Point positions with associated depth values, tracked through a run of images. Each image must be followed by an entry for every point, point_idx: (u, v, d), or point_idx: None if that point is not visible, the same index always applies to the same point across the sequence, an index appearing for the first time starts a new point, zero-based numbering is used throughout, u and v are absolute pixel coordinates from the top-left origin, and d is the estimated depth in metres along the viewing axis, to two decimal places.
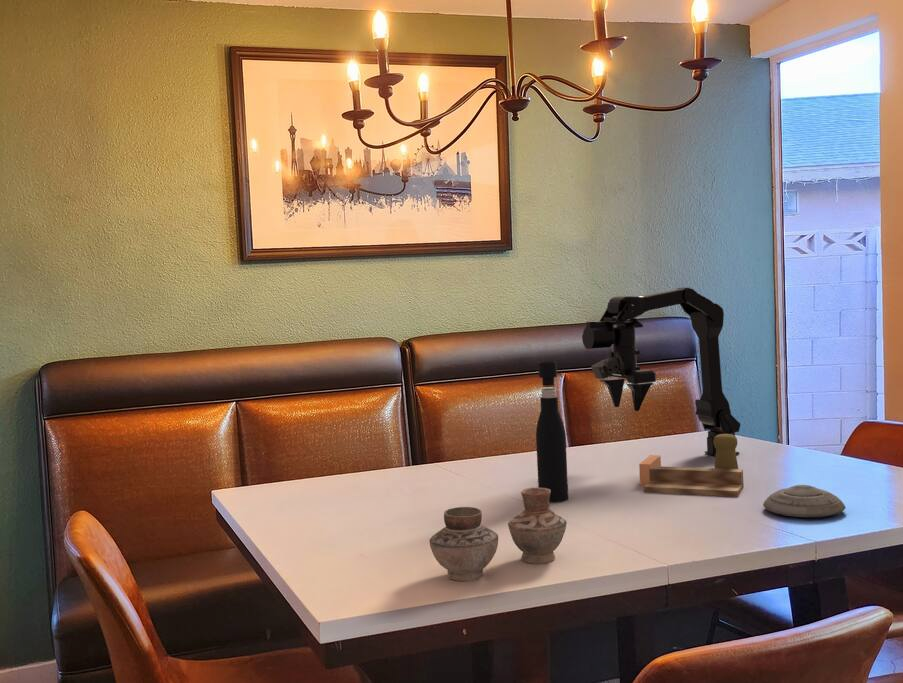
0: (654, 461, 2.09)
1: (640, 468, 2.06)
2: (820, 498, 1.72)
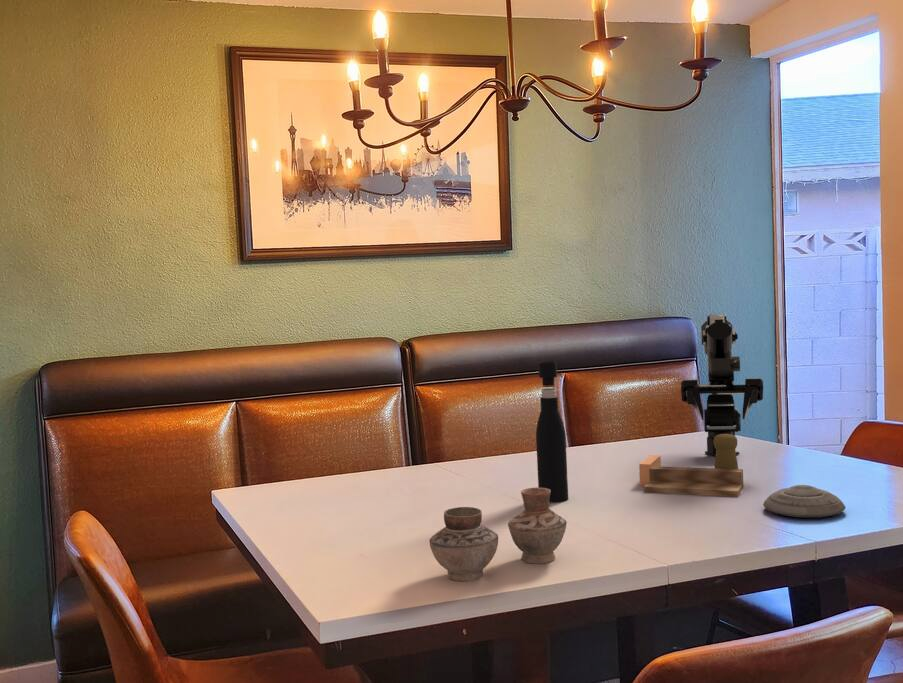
0: (654, 461, 2.09)
1: (640, 468, 2.06)
2: (820, 498, 1.72)
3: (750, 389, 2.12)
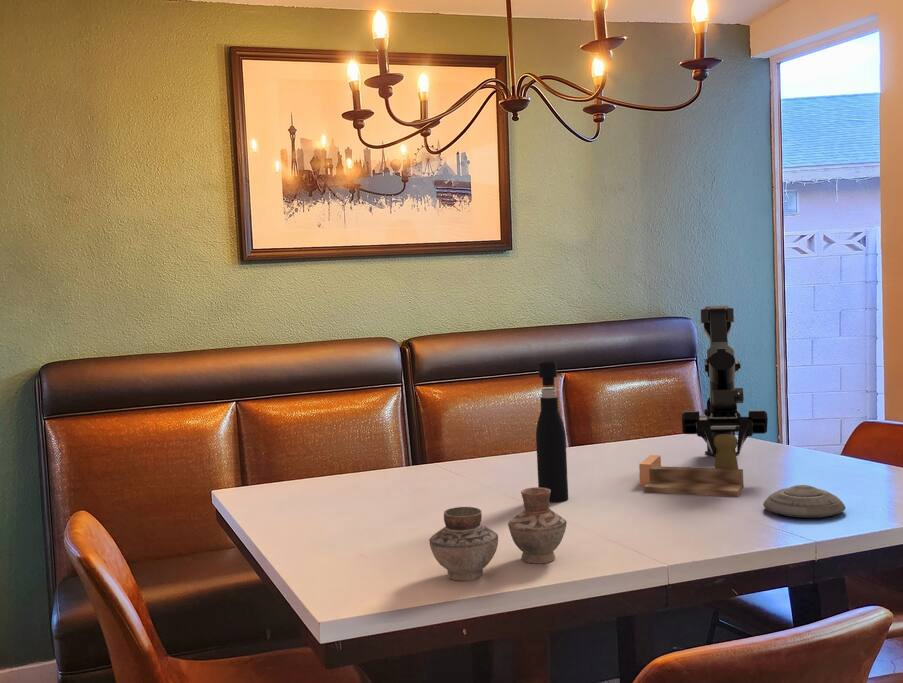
0: (654, 461, 2.09)
1: (640, 468, 2.06)
2: (820, 498, 1.72)
3: (745, 422, 2.05)
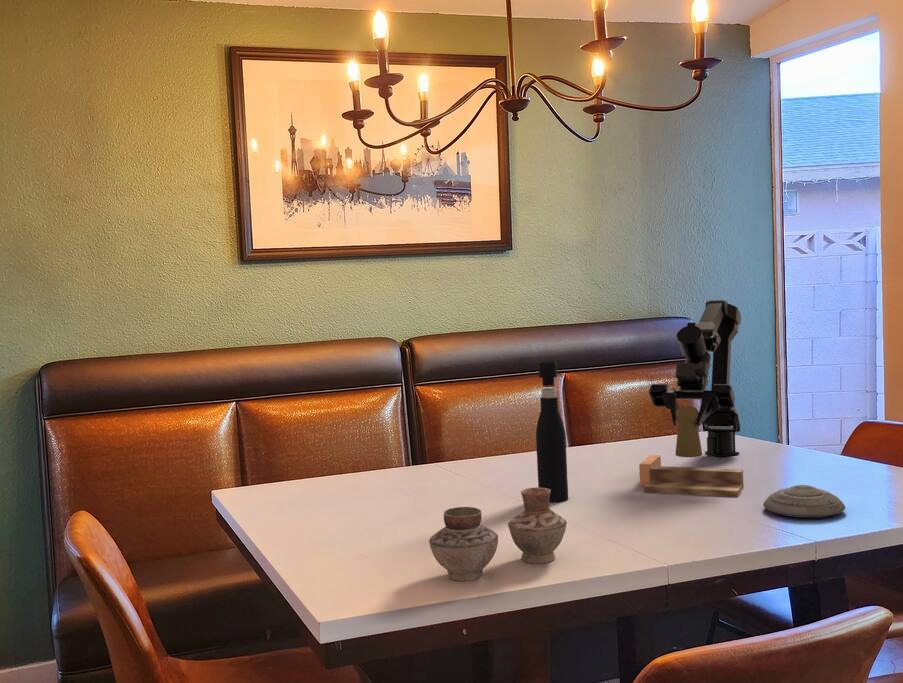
0: (654, 461, 2.09)
1: (640, 468, 2.06)
2: (820, 498, 1.72)
3: (707, 395, 2.06)
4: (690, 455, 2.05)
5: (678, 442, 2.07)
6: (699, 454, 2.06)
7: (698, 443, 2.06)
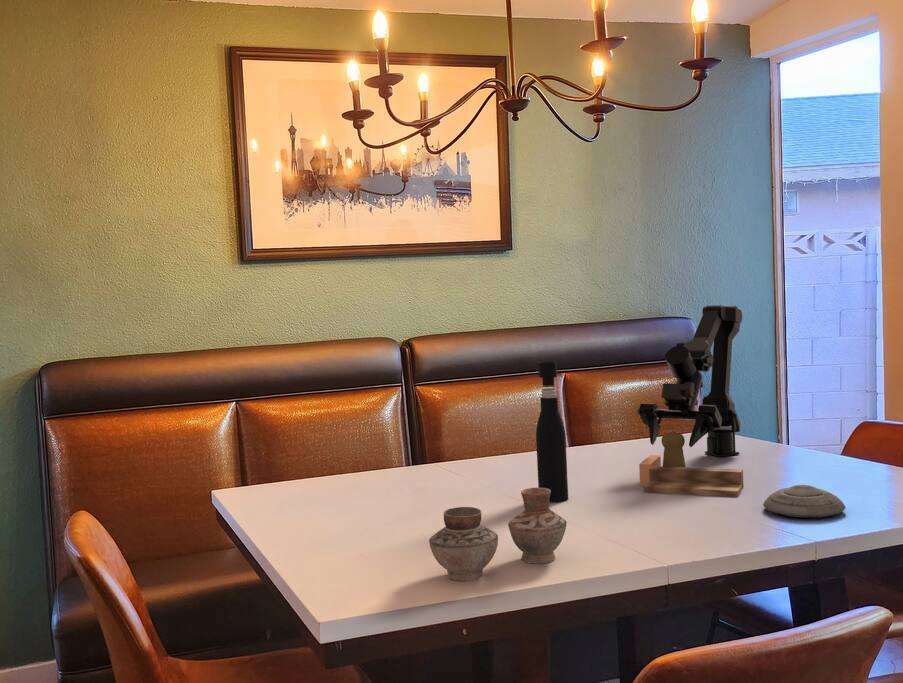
0: (654, 461, 2.09)
1: (640, 468, 2.06)
2: (820, 498, 1.72)
3: (701, 416, 2.07)
4: None
5: None
6: None
7: None
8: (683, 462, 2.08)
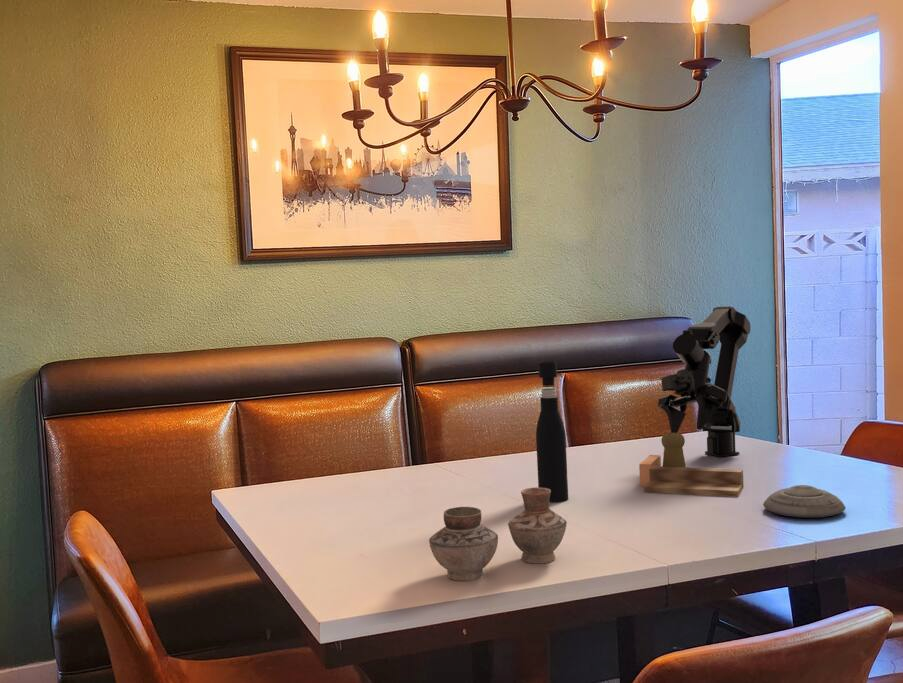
0: (654, 461, 2.09)
1: (640, 468, 2.06)
2: (820, 498, 1.72)
3: (699, 398, 2.13)
4: None
5: None
6: None
7: None
8: (683, 462, 2.08)
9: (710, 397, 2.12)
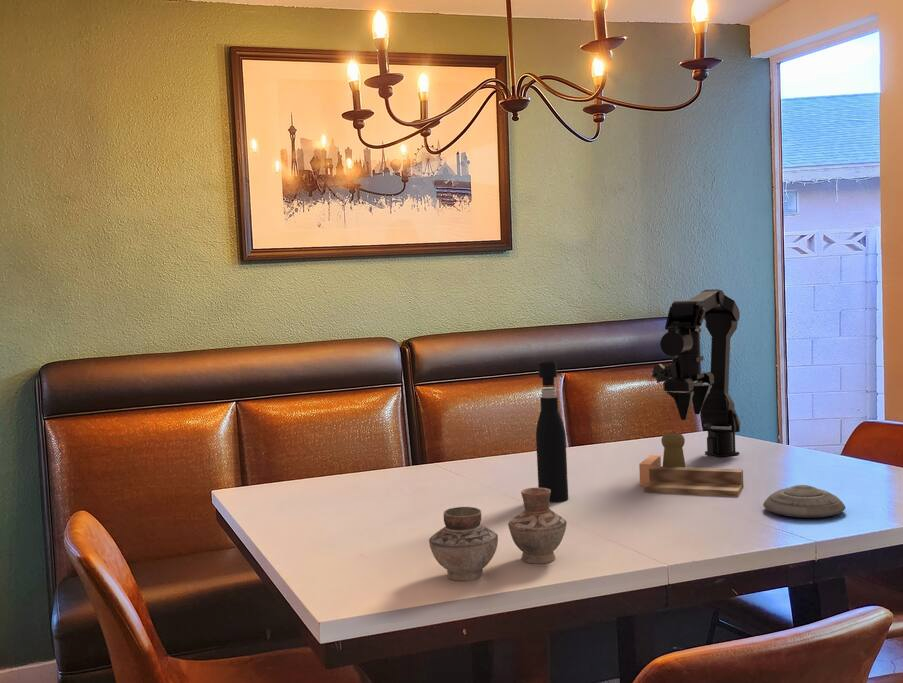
0: (654, 461, 2.09)
1: (640, 468, 2.06)
2: (820, 498, 1.72)
3: None
4: None
5: None
6: None
7: None
8: (683, 462, 2.08)
9: (674, 391, 2.13)
